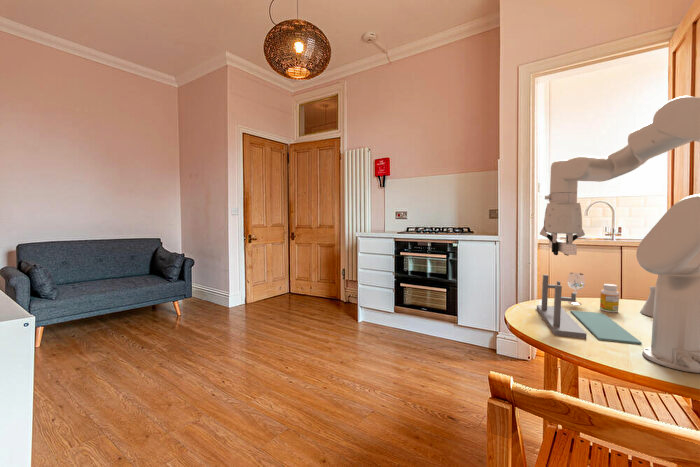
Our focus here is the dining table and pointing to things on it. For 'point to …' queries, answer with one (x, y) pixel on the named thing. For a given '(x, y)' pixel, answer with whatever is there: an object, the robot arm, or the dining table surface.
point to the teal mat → (604, 327)
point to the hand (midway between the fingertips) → (560, 254)
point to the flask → (649, 303)
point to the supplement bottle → (609, 298)
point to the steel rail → (565, 247)
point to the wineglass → (576, 283)
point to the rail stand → (558, 312)
